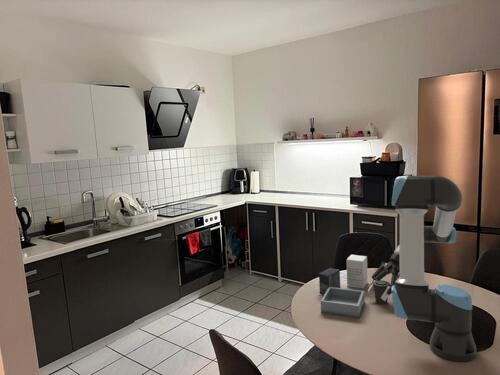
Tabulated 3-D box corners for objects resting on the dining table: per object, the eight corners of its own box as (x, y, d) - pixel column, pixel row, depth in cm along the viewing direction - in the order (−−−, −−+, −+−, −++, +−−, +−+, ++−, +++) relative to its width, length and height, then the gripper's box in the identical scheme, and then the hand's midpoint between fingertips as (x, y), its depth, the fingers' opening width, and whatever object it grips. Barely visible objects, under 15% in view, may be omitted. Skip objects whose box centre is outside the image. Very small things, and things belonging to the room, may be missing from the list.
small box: (330, 286, 204) (329, 267, 203) (341, 289, 199) (340, 269, 198) (318, 292, 197) (318, 272, 195) (329, 295, 192) (329, 275, 191)
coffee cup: (369, 302, 182) (369, 282, 180) (377, 296, 188) (376, 277, 186) (386, 307, 176) (386, 286, 175) (393, 301, 182) (393, 281, 181)
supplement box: (351, 280, 210) (350, 254, 208) (367, 282, 205) (367, 256, 203) (346, 286, 202) (345, 259, 200) (363, 289, 198) (363, 261, 196)
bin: (359, 317, 167) (358, 306, 167) (320, 312, 174) (320, 301, 174) (364, 301, 183) (364, 291, 182) (329, 297, 190) (328, 286, 189)
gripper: (422, 267, 177) (397, 308, 172) (388, 255, 195) (364, 292, 191) (414, 258, 174) (388, 300, 169) (380, 247, 193) (356, 284, 188)
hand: (376, 296), depth 180 cm, fingers closed on coffee cup, 8 cm apart
